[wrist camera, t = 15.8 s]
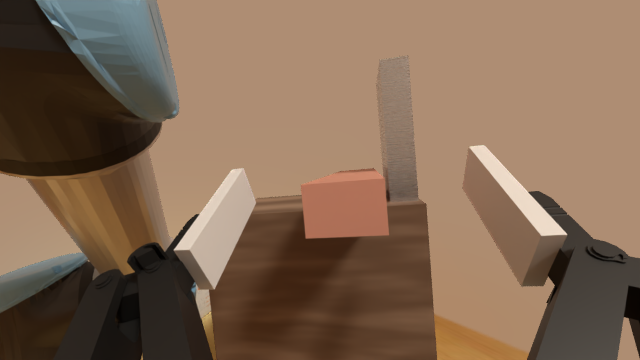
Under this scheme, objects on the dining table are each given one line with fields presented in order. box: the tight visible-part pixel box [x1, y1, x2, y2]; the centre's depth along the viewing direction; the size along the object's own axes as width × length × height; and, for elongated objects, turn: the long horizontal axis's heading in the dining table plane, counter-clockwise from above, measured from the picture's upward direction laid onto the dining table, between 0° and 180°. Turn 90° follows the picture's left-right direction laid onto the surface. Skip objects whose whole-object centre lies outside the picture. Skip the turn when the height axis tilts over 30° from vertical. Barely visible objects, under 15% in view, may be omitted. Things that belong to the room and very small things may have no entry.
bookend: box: [376, 56, 419, 202], centre depth 28 cm, size 8×2×13 cm, turn 170°
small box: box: [196, 285, 211, 319], centre depth 67 cm, size 8×6×10 cm
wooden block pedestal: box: [209, 195, 437, 360], centre depth 32 cm, size 14×21×30 cm, turn 80°
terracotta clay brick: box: [301, 168, 389, 239], centre depth 25 cm, size 22×4×3 cm, turn 170°
